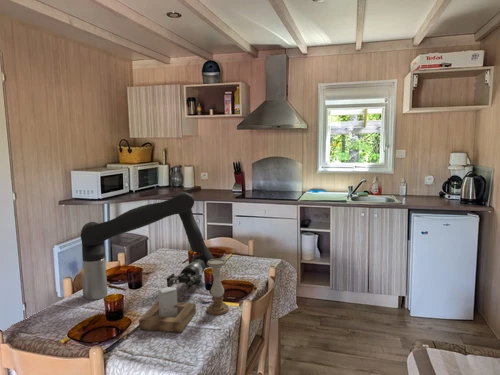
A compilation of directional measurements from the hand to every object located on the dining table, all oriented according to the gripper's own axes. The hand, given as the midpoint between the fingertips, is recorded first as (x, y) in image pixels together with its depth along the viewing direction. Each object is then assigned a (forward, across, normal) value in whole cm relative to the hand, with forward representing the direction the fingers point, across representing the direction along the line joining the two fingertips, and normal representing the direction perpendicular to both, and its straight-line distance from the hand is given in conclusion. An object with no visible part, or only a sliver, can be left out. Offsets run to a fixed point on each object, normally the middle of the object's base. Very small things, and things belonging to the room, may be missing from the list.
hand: (178, 286), depth 150 cm
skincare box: (+11, 0, +9) cm, 14 cm away
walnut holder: (+11, 0, +10) cm, 15 cm away
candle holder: (-1, +16, +10) cm, 19 cm away
